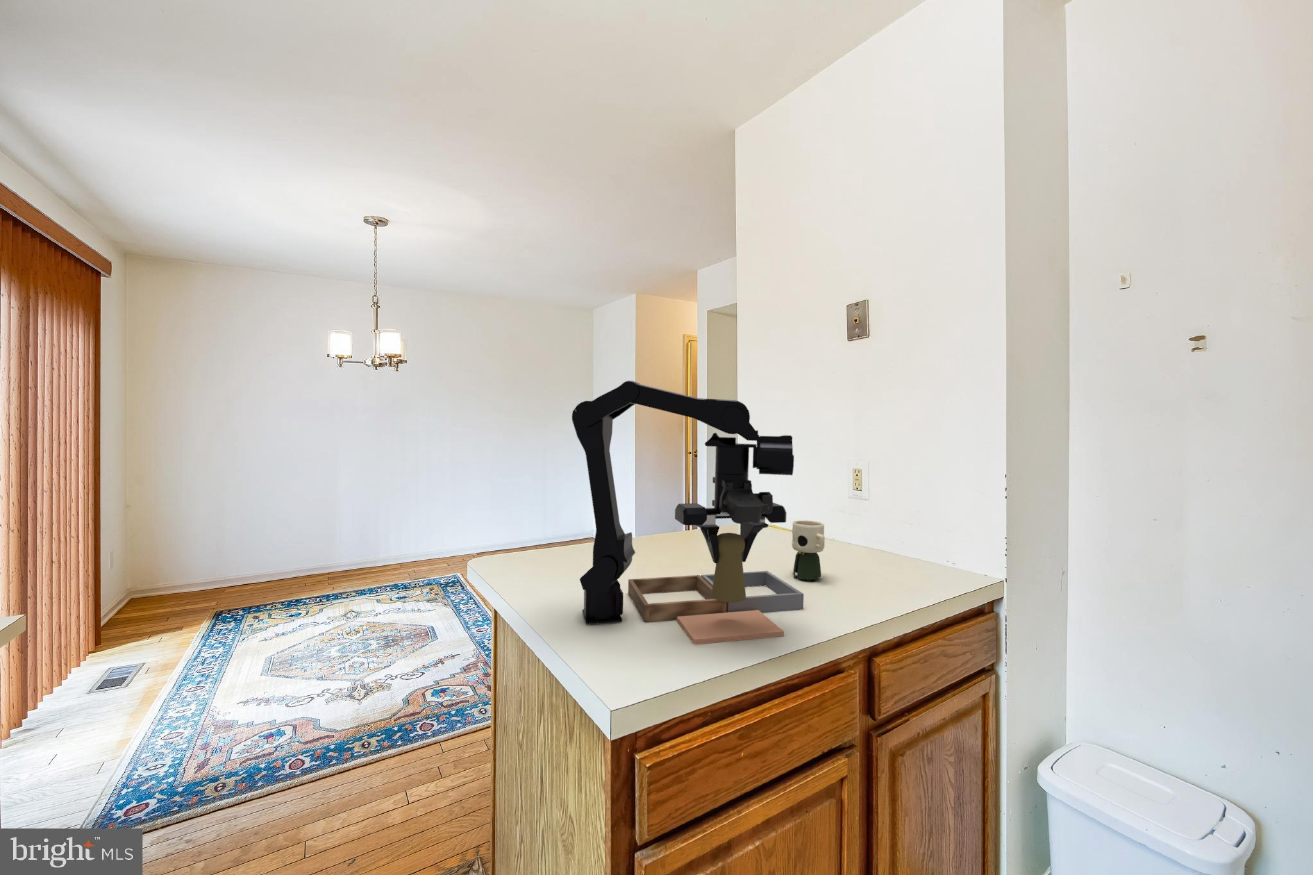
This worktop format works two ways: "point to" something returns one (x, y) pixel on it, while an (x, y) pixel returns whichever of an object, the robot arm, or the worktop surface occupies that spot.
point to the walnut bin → (673, 608)
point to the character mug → (807, 548)
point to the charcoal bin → (765, 603)
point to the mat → (728, 626)
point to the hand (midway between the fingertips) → (729, 562)
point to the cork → (729, 569)
